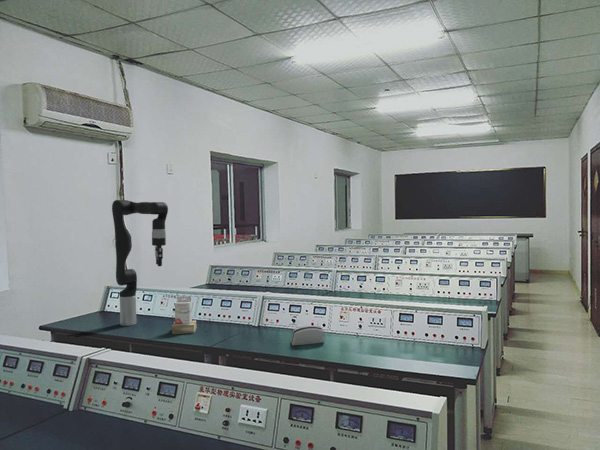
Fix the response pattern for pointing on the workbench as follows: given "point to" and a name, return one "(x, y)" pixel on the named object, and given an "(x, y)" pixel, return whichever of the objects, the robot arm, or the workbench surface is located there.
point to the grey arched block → (307, 335)
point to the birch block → (184, 328)
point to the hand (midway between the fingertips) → (159, 265)
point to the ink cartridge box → (183, 310)
